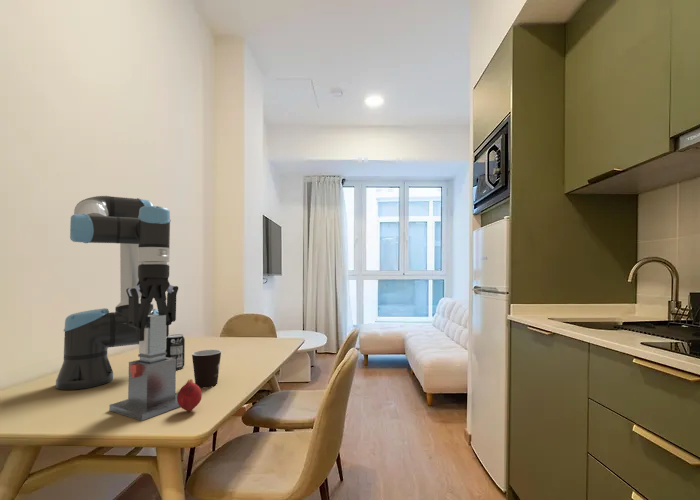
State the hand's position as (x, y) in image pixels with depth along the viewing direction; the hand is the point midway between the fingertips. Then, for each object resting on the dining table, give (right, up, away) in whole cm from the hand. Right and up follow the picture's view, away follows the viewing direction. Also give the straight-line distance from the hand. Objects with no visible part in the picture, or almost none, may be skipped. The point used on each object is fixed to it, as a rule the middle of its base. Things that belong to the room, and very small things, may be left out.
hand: (152, 351), depth 99 cm
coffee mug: (+8, -16, +19) cm, 26 cm away
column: (0, -13, -1) cm, 13 cm away
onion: (+12, -14, -5) cm, 19 cm away
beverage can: (-12, -17, +38) cm, 44 cm away
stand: (0, -14, -1) cm, 14 cm away
